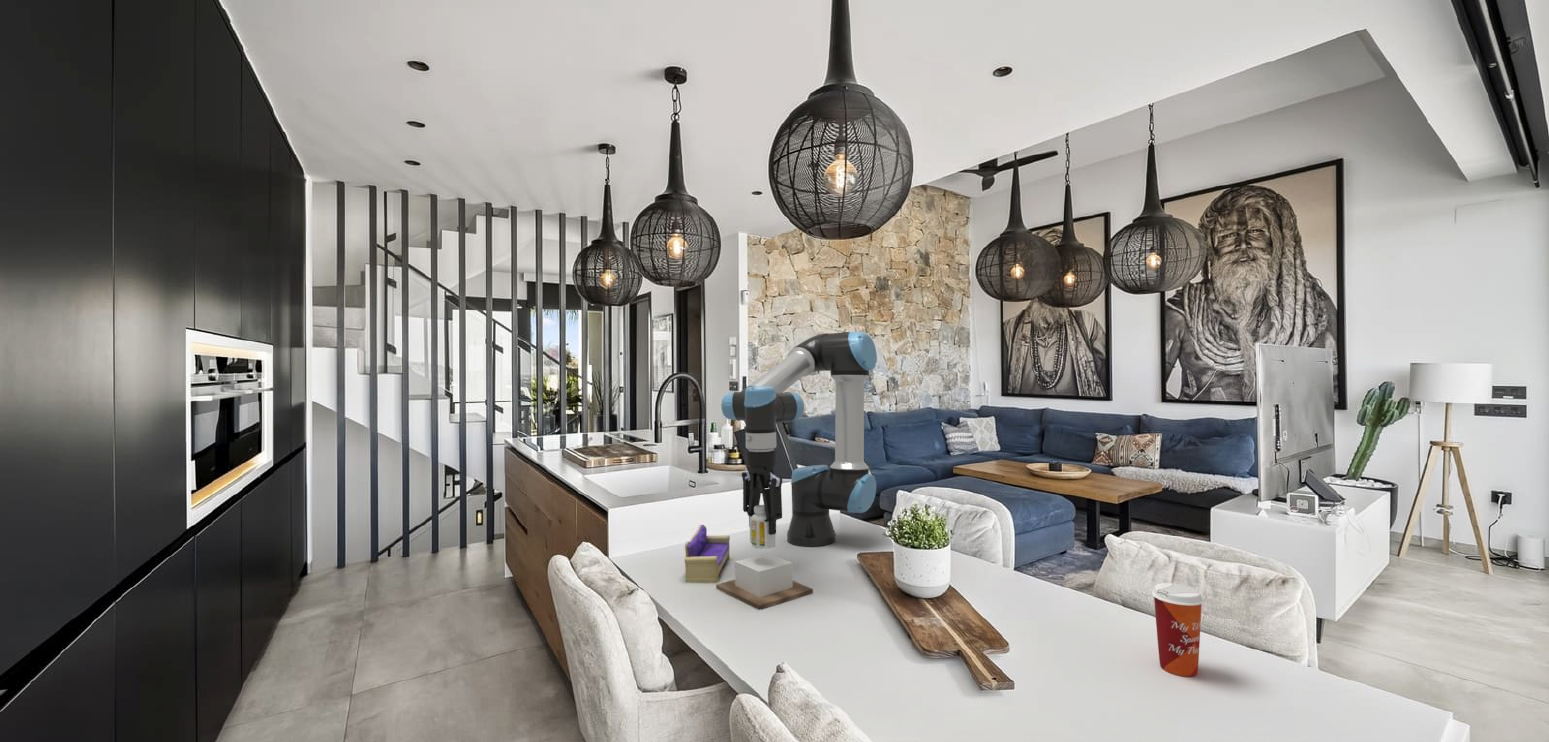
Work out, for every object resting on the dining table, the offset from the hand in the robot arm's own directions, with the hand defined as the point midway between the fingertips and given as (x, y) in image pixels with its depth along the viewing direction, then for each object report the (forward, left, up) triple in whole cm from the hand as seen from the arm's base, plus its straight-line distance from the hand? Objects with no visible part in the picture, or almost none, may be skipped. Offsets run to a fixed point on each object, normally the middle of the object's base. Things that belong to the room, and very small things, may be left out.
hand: (762, 544), depth 153 cm
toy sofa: (+1, -23, -12) cm, 26 cm away
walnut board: (0, 0, -11) cm, 11 cm away
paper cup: (-32, +79, -12) cm, 86 cm away
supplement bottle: (0, 0, 0) cm, 0 cm away
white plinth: (0, 0, -11) cm, 11 cm away
